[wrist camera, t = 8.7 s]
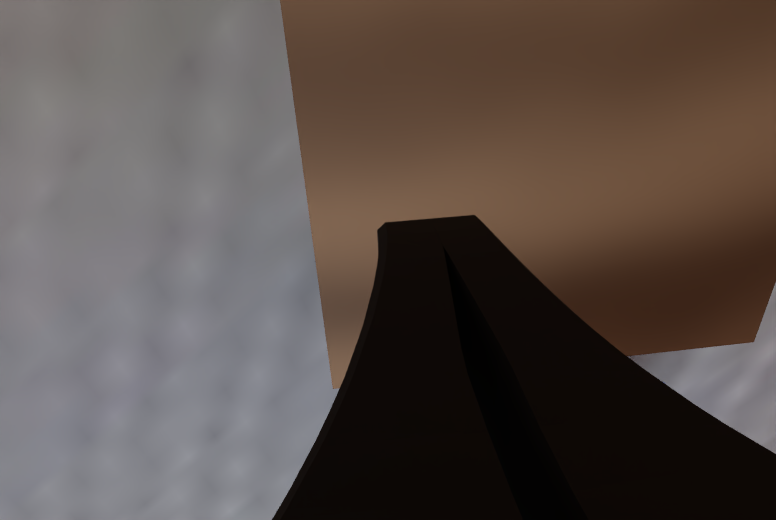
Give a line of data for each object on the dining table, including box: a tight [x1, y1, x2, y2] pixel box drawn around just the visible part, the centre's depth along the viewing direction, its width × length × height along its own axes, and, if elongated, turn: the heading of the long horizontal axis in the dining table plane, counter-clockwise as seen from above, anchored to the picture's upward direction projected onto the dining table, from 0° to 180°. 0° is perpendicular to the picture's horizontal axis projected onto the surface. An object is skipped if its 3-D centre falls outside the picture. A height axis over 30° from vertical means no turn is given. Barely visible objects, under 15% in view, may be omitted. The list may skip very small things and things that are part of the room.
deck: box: [280, 0, 776, 389], centre depth 16 cm, size 18×12×4 cm, turn 3°
